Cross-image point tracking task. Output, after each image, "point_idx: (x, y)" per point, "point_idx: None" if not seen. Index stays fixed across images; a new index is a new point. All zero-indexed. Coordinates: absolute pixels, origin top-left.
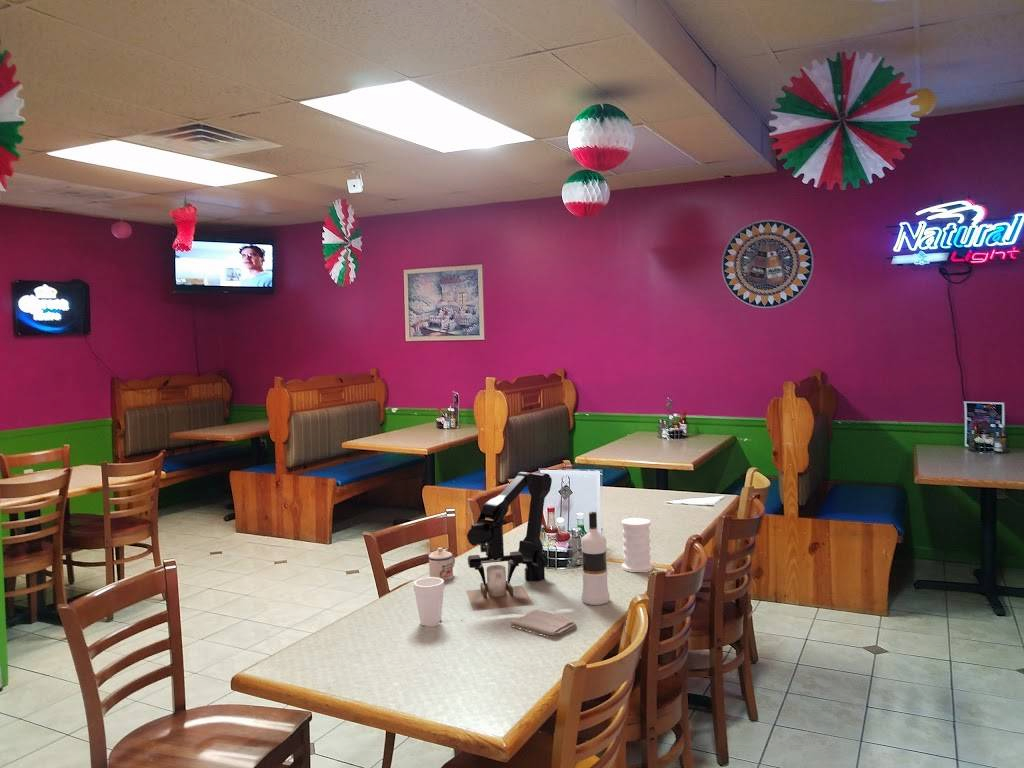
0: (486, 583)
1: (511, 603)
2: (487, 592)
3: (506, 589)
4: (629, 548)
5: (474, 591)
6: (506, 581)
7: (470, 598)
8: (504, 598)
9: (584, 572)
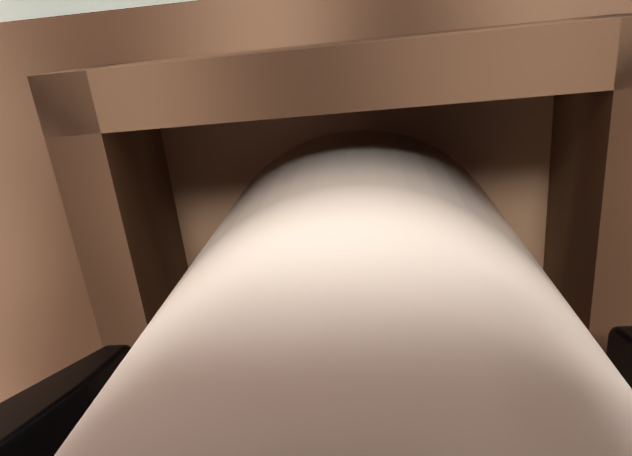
0: (159, 121)
1: None
2: (217, 196)
3: (544, 113)
4: None
5: (7, 109)
6: (622, 75)
7: (7, 374)
8: None
9: None
